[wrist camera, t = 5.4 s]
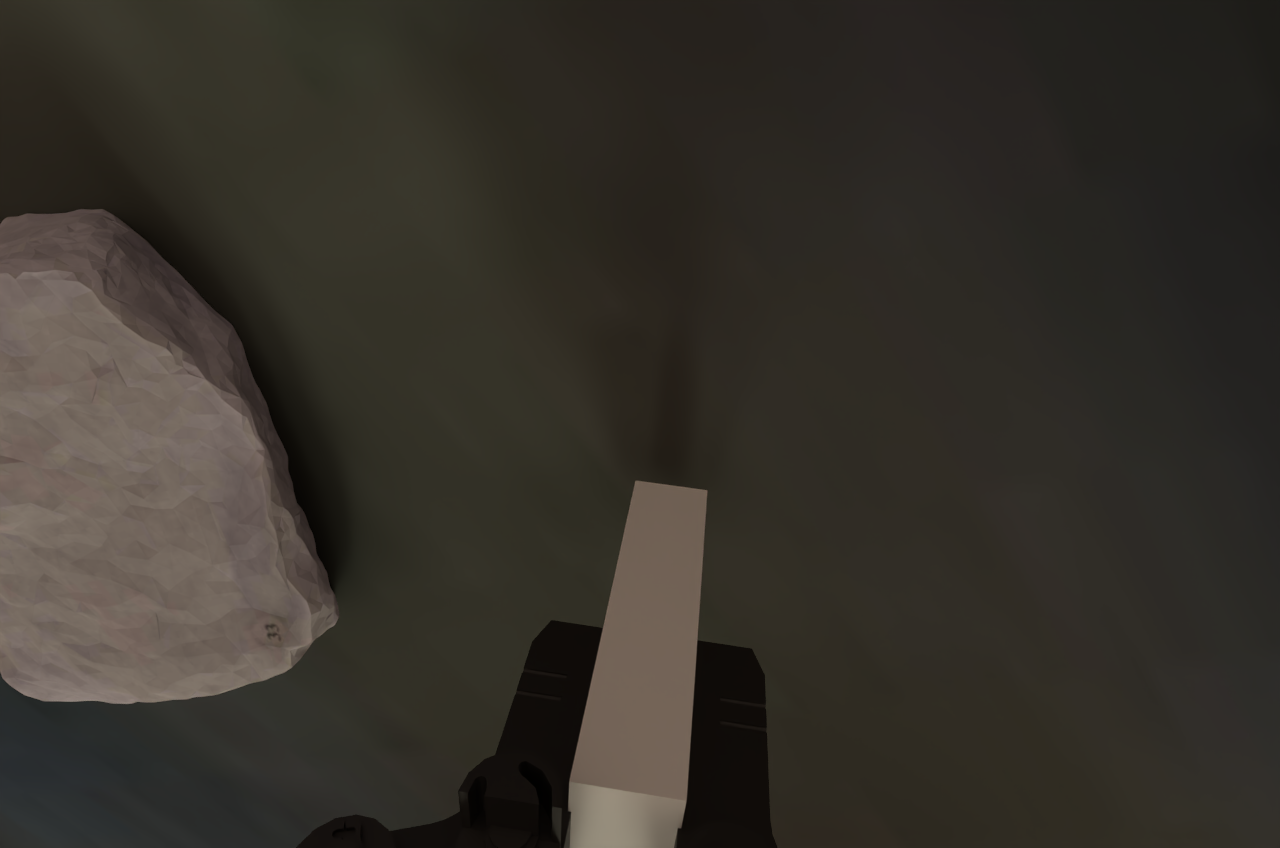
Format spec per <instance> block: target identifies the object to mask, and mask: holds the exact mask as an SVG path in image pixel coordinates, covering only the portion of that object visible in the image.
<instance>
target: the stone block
mask: <svg viewBox="0 0 1280 848" xmlns="http://www.w3.org/2000/svg"><path fill="white" fill-rule="evenodd" d="M338 618H339V610H338V604H337V600H336V597H335V594H334V593H333V591H332V589H331V588H330V584H329V580H328V574H327V571H326V570H325V568H324V566H323V563H322V562H321V560H320V559H319V558H318V556H317V553H316V544H315V540H314V537H313V533H312V531H311V529H310V528H309V524H308V521H307V518H306V516H305V513H304V512H303V510H302V509H301V507H300V506H299V505H298V504H297V501H296V498H295V495H294V490H293V483H292V480H291V477H290V474H289V471H288V455H287V453H286V451H285V449H284V447H283V444H282V442H281V440H280V438H279V436H278V435H277V432H276V430H275V428H274V425H273V423H272V420H271V417H270V414H269V410H268V406H267V403H266V401H265V399H264V397H263V396H262V393H261V391H260V389H259V387H258V386H257V385H256V383H255V380H254V378H253V376H252V373H251V370H250V367H249V365H248V362H247V358H246V355H245V351H244V348H243V345H242V342H241V340H240V338H239V337H238V335H237V333H236V331H235V329H234V327H233V325H232V324H231V323H229V322H228V321H227V320H226V319H225V318H223V317H222V316H221V315H220V314H218V313H217V312H216V311H215V310H214V309H213V308H212V307H211V306H210V305H209V304H208V303H207V302H206V301H205V300H204V299H203V298H202V297H201V296H200V295H199V294H198V293H197V292H196V290H195V289H194V288H193V287H192V286H191V285H190V284H189V283H188V282H187V281H186V280H185V279H184V278H183V277H182V275H181V274H180V273H179V272H177V271H176V270H175V269H174V268H173V267H172V266H171V265H170V264H169V263H168V262H166V261H165V260H164V259H163V258H162V257H161V256H160V255H159V254H158V253H157V252H156V251H155V249H154V248H153V247H152V246H151V245H150V244H149V243H148V242H147V241H146V240H145V239H144V238H142V237H141V236H140V235H139V234H137V233H136V232H135V231H134V230H133V229H131V228H130V227H129V226H128V225H126V224H125V223H124V222H122V221H121V220H120V219H119V218H117V217H116V216H114V215H113V214H111V213H109V212H107V211H105V210H104V209H95V210H90V209H79V210H75V211H71V212H67V213H56V214H30V213H27V214H24V215H21V216H15V217H7V218H5V219H4V220H3V221H2V223H1V224H0V672H1V675H2V678H3V679H4V680H5V681H6V682H7V683H8V684H9V685H10V686H12V687H13V688H14V689H16V690H17V691H19V692H21V693H22V694H24V695H26V696H29V697H32V698H36V699H39V700H42V701H69V702H75V701H102V702H107V703H114V704H117V703H119V704H131V703H134V702H161V701H168V700H181V699H190V698H193V697H203V696H211V695H217V694H220V693H224V692H227V691H230V690H233V689H236V688H239V687H242V686H245V685H247V684H250V683H255V682H259V681H263V680H267V679H269V678H271V677H273V676H276V675H279V674H282V673H284V672H286V671H287V670H289V669H291V668H292V667H293V666H294V665H295V664H296V663H297V662H298V661H299V660H300V659H301V658H302V656H303V655H304V654H305V652H306V651H307V650H308V648H309V647H310V646H311V644H312V643H313V641H314V640H315V639H316V638H318V637H319V636H321V635H322V634H323V633H324V632H325V631H326V630H327V629H329V628H331V627H333V626H334V625H335V624H336V622H337V620H338Z"/></svg>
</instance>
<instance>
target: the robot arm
mask: <svg viewBox="0 0 1280 848" xmlns="http://www.w3.org/2000/svg"><path fill="white" fill-rule="evenodd" d="M706 504H707V490H701V489H694V488H687V487H679V486H672V485H665V484H657V483H650V482H643V481H635V485H634V490H633V494H632V499H631V503H630V508H629V512H628V517H627V521H626V526H625V531H624V535H623V540H622V544H621V549H620V553H619V558H618V562H617V567H616V571H615V576H614V581H613V585H612V590H611V594H610V599H609V603H608V608H607V612H606V617H605V621H604V626H603V628H600V627H593V626H586V625H580V624H573V623H566V622H560V621H553V620H551V621H550V622H549V624H548V625H547V626H546V627H545V628H544V629H543V630H542V631H541V632H540V634H539V635H538V636H537V637H536V638H535V639H534V640H533V641H532V644H531V647H530V650H529V654H528V657H527V660H526V663H525V666H524V671H523V673H522V675H521V678H520V681H519V684H518V687H517V692H516V695H515V696H514V699H513V703H512V706H511V709H510V712H509V715H508V718H507V721H506V724H505V727H504V730H503V733H502V736H501V739H500V742H499V745H498V748H497V752H496V755H494V756H492V757H489V758H487V759H485V760H483V761H482V762H481V763H480V764H479V765H477V766H476V767H475V768H474V769H473V770H472V771H470V772H469V773H468V775H467V777H466V779H465V780H464V782H463V784H462V785H461V787H460V789H459V791H458V794H459V804H460V812H458V813H457V814H455V815H453V816H451V817H449V818H447V819H445V820H442V821H439V822H435V823H432V824H427V825H422V826H416V827H411V828H405V829H399V830H394V831H389V830H388V829H387V828H386V827H384V826H383V825H382V824H381V823H379V822H378V821H377V820H376V819H374V818H369V817H365V816H360V815H352V816H346V817H341V818H335V819H334V820H332V821H330V822H328V823H326V824H324V825H322V826H320V827H318V828H317V829H315V830H314V831H313V832H312V833H311V834H310V835H309V836H308V837H306V838H305V839H304V840H303V841H302V842H301V843H300V844H299V845H298V846H297V847H296V848H777V845H776V843H775V840H774V838H773V835H772V829H771V823H770V805H769V778H768V751H767V733H766V728H767V724H766V709H765V705H766V697H765V675H764V673H763V671H762V669H761V667H760V665H759V663H758V660H757V658H756V656H755V654H754V652H753V650H752V649H750V648H744V647H737V646H730V645H724V644H717V643H710V642H704V641H697V638H698V623H699V608H700V593H701V578H702V563H703V548H704V534H705V519H706Z"/></svg>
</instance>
